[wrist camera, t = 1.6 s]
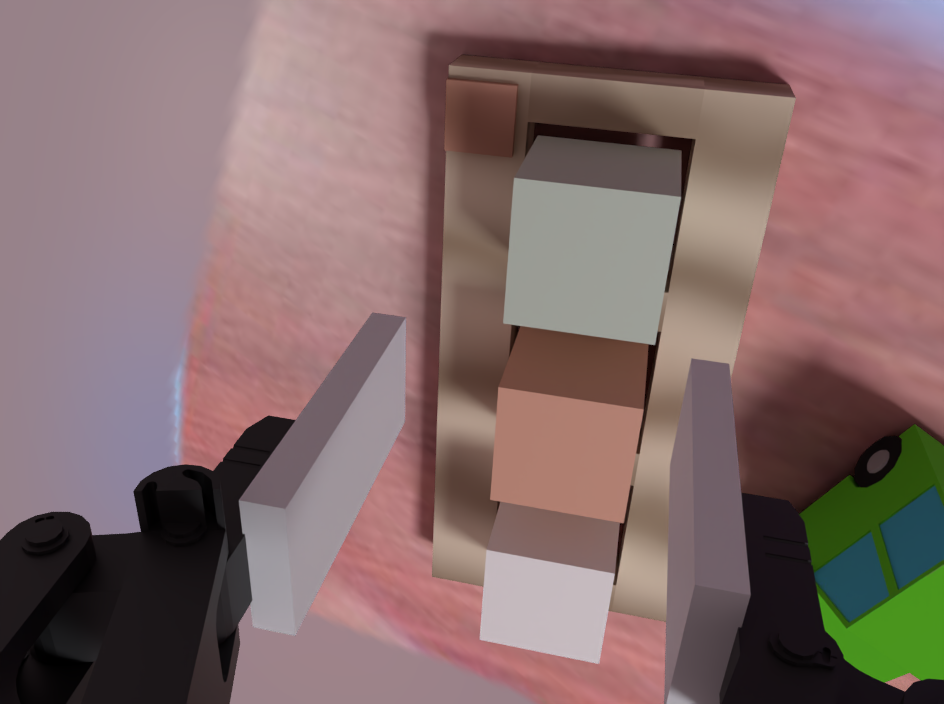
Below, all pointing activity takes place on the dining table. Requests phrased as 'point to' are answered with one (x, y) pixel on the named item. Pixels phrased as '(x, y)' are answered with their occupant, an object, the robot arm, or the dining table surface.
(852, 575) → the toy car
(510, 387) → the terracotta button
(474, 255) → the board
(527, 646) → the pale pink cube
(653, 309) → the sage button
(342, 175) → the dining table surface
